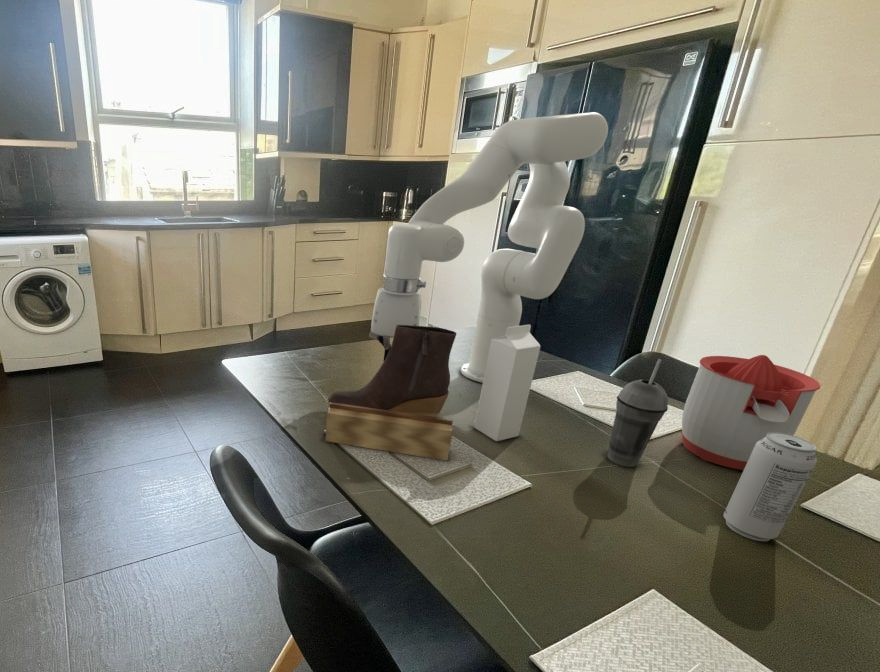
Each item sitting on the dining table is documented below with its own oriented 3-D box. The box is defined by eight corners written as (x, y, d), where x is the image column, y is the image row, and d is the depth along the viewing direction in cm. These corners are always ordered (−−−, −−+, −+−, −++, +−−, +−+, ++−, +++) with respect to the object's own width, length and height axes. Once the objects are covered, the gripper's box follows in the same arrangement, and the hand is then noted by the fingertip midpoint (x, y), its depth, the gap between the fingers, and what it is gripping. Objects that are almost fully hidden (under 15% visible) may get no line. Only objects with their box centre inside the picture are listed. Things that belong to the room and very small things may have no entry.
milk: (518, 436, 95) (546, 329, 87) (495, 442, 93) (521, 332, 84) (494, 422, 100) (518, 320, 92) (472, 427, 98) (494, 322, 89)
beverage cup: (638, 453, 90) (674, 353, 83) (652, 474, 84) (692, 367, 76) (594, 446, 92) (625, 347, 85) (604, 466, 86) (639, 361, 78)
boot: (326, 402, 106) (332, 314, 99) (438, 410, 104) (453, 321, 97) (325, 421, 98) (333, 326, 91) (447, 430, 96) (464, 334, 89)
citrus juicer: (689, 471, 85) (732, 366, 78) (658, 427, 100) (692, 335, 93) (803, 493, 80) (861, 383, 72) (753, 443, 95) (797, 347, 87)
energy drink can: (757, 520, 73) (800, 433, 68) (786, 547, 68) (835, 455, 62) (712, 513, 74) (750, 427, 69) (736, 539, 69) (780, 449, 63)
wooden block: (446, 452, 89) (452, 419, 86) (447, 460, 86) (453, 427, 84) (327, 433, 94) (330, 402, 91) (325, 441, 91) (327, 408, 88)
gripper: (436, 284, 105) (423, 363, 112) (366, 278, 108) (358, 355, 115) (437, 291, 98) (423, 375, 105) (363, 285, 101) (354, 366, 108)
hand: (389, 364), depth 110 cm, fingers closed
